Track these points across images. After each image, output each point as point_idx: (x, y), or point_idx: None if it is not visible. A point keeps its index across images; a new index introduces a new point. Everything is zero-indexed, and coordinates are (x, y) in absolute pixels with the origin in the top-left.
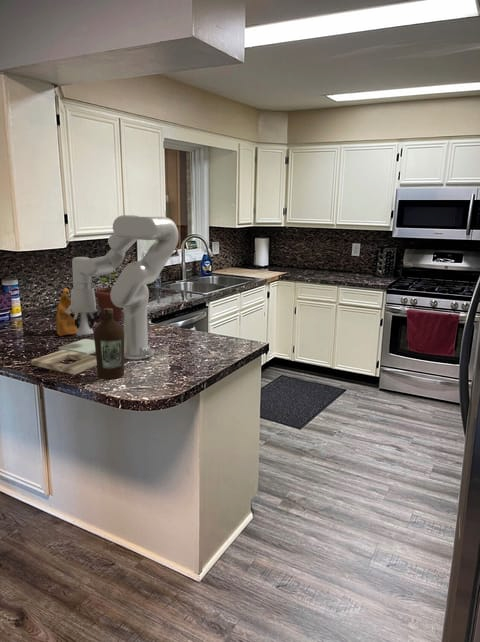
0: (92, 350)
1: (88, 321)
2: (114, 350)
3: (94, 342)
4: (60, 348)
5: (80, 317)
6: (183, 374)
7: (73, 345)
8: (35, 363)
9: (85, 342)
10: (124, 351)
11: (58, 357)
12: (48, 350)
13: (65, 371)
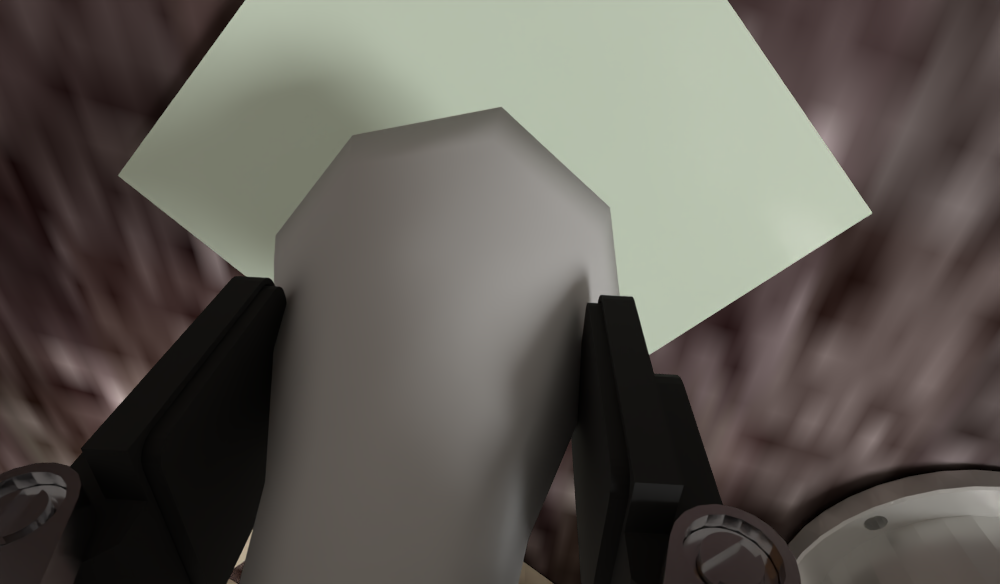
0: None
1: (532, 511)
2: None
3: (631, 60)
4: (159, 200)
5: (248, 574)
6: None
7: (310, 146)
8: None
9: (486, 15)
10: (849, 536)
11: (240, 560)
12: (21, 167)
13: None
